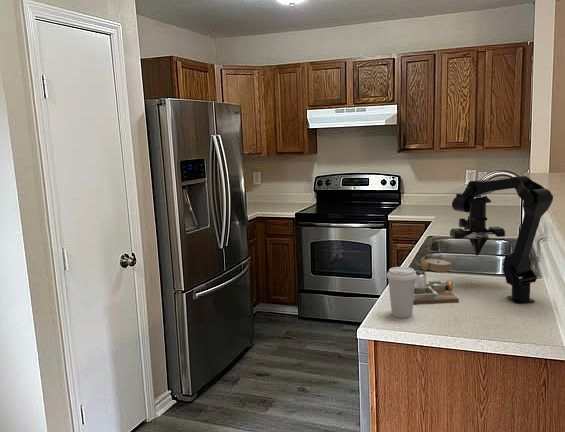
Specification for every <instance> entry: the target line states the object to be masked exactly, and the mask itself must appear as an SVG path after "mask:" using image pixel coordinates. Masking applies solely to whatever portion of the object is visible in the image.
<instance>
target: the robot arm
mask: <svg viewBox="0 0 565 432" xmlns="http://www.w3.org/2000/svg"><path fill="white" fill-rule="evenodd" d="M466 185H467V186H466V188H465V189H464V191H463V192H462V193H459V192H458V193H455V194H456V195H455V197H454V198H453V200H452V202H451V206H452V209H453V210H454V211H456V212H461V213H463V212H464V213H469V215H468V216H467V219H466V218H459V219H458V226H459V228H451V230H450V231H449V236H450V237H451V238H453V239H457V240H459V239H465V238H466V239H467V240H469V242H470V243H471V246H472V248H473V249H472V250H473V253H474V255H475V256H479V255H480V253H481V251H482V249H483V247H484V245H485V244H486V242H487V241H488V240H490V239H491V238H490V237H489V235H494V236H495V237H496V238H497V237H498V238H499V237H506V230H505V229H504V228H503V227H500V226H489V227H488V228H487V224H486V222H487V221H488V217H487V204H489V203H491V202H492V200H491V199H490V198H489V197H488V196H487V195H489V194H492V193H494V192H496V191H503V190H509V189H515V191H516V193H517V196H518V197H519V198H520V199H521V200H522V209H523V212H524V217H523V219H522V223H521V225H520V229H519V232H518V236H517V239H516V242H515V246H514V248H513V249H514V250H513V251H512V253H509V254H505V256H504V259H503V263H502V264H501V266H502V271H503V273H504V277H505V281H506V283H507V284H508V285H510V286H511V295H507V297H506V298H507V299H509V300H510V301H512V302H513V303H515V304H523V303H524V304H527V303H529V304H530V303H534V302H535V300H534V299H532V298H531V284H533V283H536V282H537V279H538V276H537V275H536V273H535V272H534V271H533V269H532V268H531V267H532V261H531V257H530V253H531V250H532V247H533V244H534V241H535V237H536V234H537V232H538V229H539V225H540V222H541V219H542V216H544V214H546V212H547V211H548V210H549V209H550V206H551V204H552V203H553V201H554V195H553V194H552V192H551V191H550V190H549V189H548V188H545V187H544V186H543V185H541V184H539V183H537V182H536V181H534V180H532V179H531V178H530V177H528V176H527V175H516V176H514V177H508V178H501V179H496V180H491V179H477V180H476V179H475V180H470V181H468V183H467V184H466Z"/></svg>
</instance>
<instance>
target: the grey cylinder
mask: <svg viewBox="0 0 565 432" xmlns="http://www.w3.org/2000/svg"><path fill="white" fill-rule="evenodd" d="M414 271H415V270H414ZM415 273H416V275H417V278H415V294H427V284H428V283H427V273H426V271H424V270H422V269H420V270H416V271H415Z"/></svg>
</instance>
